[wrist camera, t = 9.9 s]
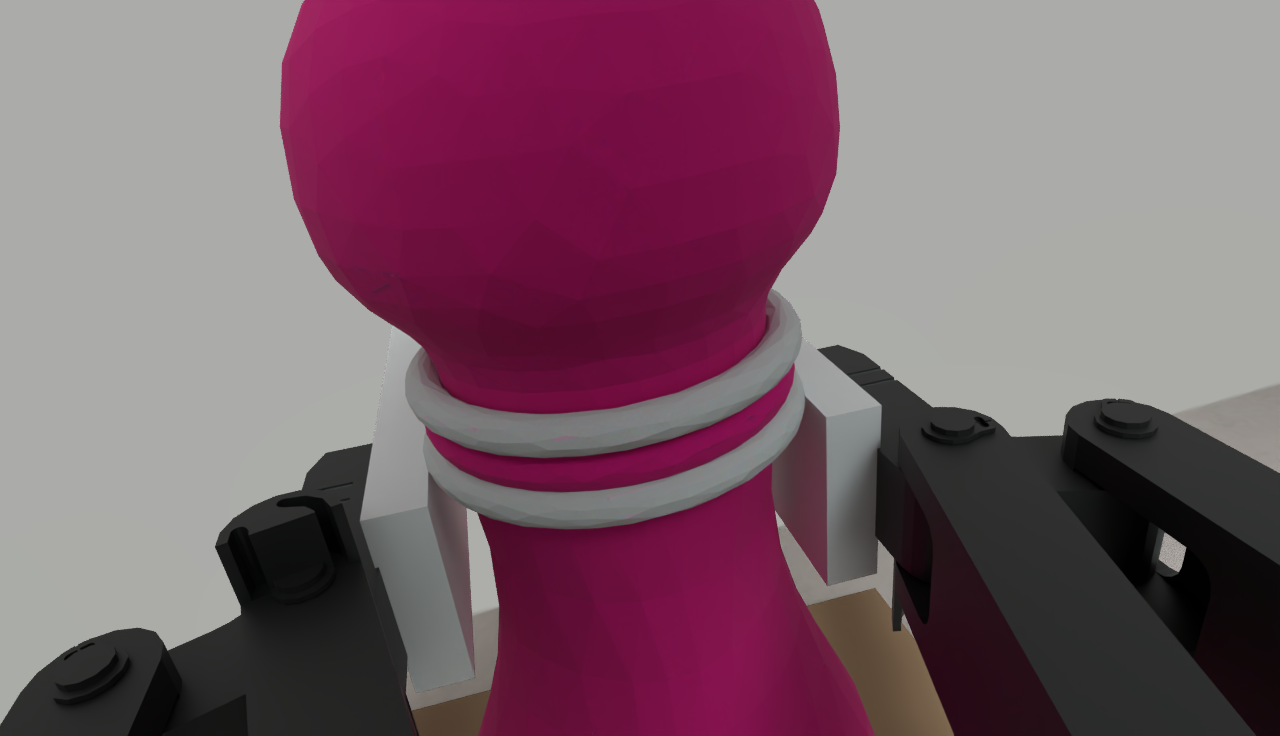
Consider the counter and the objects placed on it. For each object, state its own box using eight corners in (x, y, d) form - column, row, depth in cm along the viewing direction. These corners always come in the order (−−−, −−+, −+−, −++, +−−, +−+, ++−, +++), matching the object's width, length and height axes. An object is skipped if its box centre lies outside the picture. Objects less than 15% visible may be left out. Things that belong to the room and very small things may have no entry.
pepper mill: (450, 1035, 15) (-148, -284, 6) (638, 734, 20) (462, -185, 12) (820, 1312, 11) (621, -999, 2) (928, 854, 16) (982, -360, 8)
